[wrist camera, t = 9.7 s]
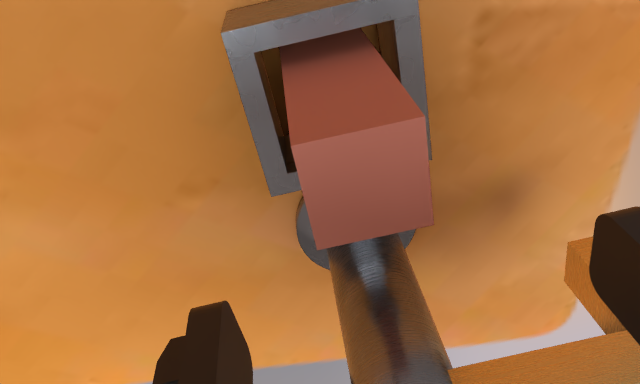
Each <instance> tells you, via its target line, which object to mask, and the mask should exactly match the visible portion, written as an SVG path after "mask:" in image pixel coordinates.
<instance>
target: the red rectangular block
mask: <svg viewBox="0 0 640 384" xmlns="http://www.w3.org/2000/svg"><path fill="white" fill-rule="evenodd" d="M279 50H280V59H281V67H282V76H283V84H284V93H285V101H286V110H287V118H288V127H289V135H290V144H291V149H292V153H293V157H294V161H295V165H296V169H297V173H298V177H299V181H300V185H301V189H302V192H303V196H304V200H305V204H306V208H307V212H308V216H309V220H310V224H311V228H312V232H313V236H314V240H315V244H316V248H317V250H321V249H326V248H330V247H335V246H340V245H344V244H349V243H353V242H358V241H362V240H367V239H372V238H376V237H381V236H385V235H390V234H394V233H399V232H404V231H408V230H413V229H417V228H422V227H426V226H431V225H434V220H433V207H432V195H431V183H430V170H429V158H428V146H427V133H426V121H425V115H424V114H423V113H422V111H421V110H420V109H419V107H418V106H417V104H416V103H415V102H414V100H413V99H412V98H411V96H410V95H409V94H408V92H407V91H406V90H405V88H404V87H403V85H402V84H401V83H400V81H399V80H398V79H397V77H396V76H395V75H394V73H393V72H392V71H391V69H390V68H389V66H388V65H387V64H386V62H385V61H384V60H383V58H382V57H381V56H380V54H379V53H378V52H377V50H376V49H375V47H374V46H373V45H372V43H371V42H370V41H369V39H368V38H367V37H366V35H365V34H364V33H363V31H362V30H361V28H356V29H352V30H348V31H343V32H339V33H335V34H331V35H326V36H322V37H318V38H314V39H309V40H305V41H301V42H297V43H293V44H288V45H284V46H280V47H279Z"/></svg>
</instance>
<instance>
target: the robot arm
mask: <svg viewBox="0 0 640 384" xmlns="http://www.w3.org/2000/svg"><path fill="white" fill-rule="evenodd" d="M589 274H590V279H591V282H592V285H593V287H594V289H595V291H596V292H597V294H598V296H599V297H600V298H601V299H602V301H603V302H604V303H605V304H606V305H607V307H608V308H609V309H610V310H611V311H612V313H613V314H614V315H615V316H616V317H617V319H618V320H619V321H620V322H621V324H622V325H623V326H624V327H625V328H626V330H627V331H628V332H629V333H630V334H631V336H632V337H633V338H634V339H635V341H636V342H637V343H638V344H639V345H640V207H632V208H628V209H623V210H619V211H615V212H610V213H606V214H602V215H600V216H598V217H597V219H596V222H595V228H594V235H593V242H592V250H591V257H590V264H589ZM153 384H253V369H252V361H251V356H250V352H249V348H248V345H247V343H246V341H245V338H244V336H243V334H242V332H241V329H240V327H239V325H238V323H237V320H236V318H235V316H234V314H233V311H232V309H231V307H230V305H229V303H228V302H227V301H222V302H218V303H213V304H209V305H205V306H200V307H196V308H192V309H191V310H190V313H189V317H188V323H187V330H186V336H181V337H177V338H173V339H171V340H170V341H169V343H168V345H167V346H166V348H165V350H164V351H163V353H162V354H161V356H160V358H159V359H158V361H157V365H156V369H155V374H154V379H153Z"/></svg>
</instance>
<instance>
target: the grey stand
mask: <svg viewBox="0 0 640 384" xmlns="http://www.w3.org/2000/svg"><path fill="white" fill-rule="evenodd" d="M373 24H377V29H378V36H379V44H380V51H381V57H382V58H383V60H384V61H385V62H386V64H387V65H388V66H389V68H390V69H391V71H392V72H393V73H394V75H395V76H396V77H397V79H398V80H399V81H400V83H401V84H402V85H403V87H404V88H405V90H406V91H407V92H408V94H409V95H410V96H411V98H412V99H413V100H414V102H415V103H416V104H417V106H418V107H419V109H420V110H421V111H422V113H423V114H424V115H425V121H426V133H427V146H428V158H429V160H432V152H431V141H430V130H429V118H428V107H427V96H426V85H425V73H424V62H423V51H422V40H421V28H420V17H419V6H418V0H272V1H268V2H264V3H260V4H255V5H251V6H247V7H243V8H239V9H234V10H230V11H227V13H226V16H225V20H224V23H223V27H222V30H221V36H222V39H223V42H224V45H225V49H226V52H227V55H228V58H229V61H230V65H231V68H232V71H233V74H234V78H235V81H236V84H237V87H238V90H239V94H240V97H241V100H242V103H243V107H244V110H245V113H246V116H247V120H248V123H249V126H250V129H251V132H252V136H253V139H254V142H255V145H256V149H257V152H258V155H259V158H260V162H261V165H262V168H263V171H264V174H265V178H266V181H267V184H268V187H269V191H270V194H271V197H273V196H277V195H282V194H286V193H290V192H295V191H299V190H302V189H301V185H300V181H299V177H298V173H297V169H296V165H295V161H294V157H293V153H292V149H291V144H290V135H287V136H284V135H283V131H282V128H281V124H280V120H279V117H278V113H277V109H276V105H275V102H274V98H273V94H272V91H271V87H270V83H269V80H268V76H267V72H266V69H265V65H264V61H263V57H262V54H261V51H263V50H267V49H271V48H276V47H280V46H284V45H288V44H293V43H297V42H301V41H305V40H309V39H314V38H318V37H322V36H326V35H331V34H335V33H339V32H343V31H348V30H352V29H356V28H360V27H365V26H369V25H373ZM296 229H297V236H298V240H299V243H300V246H301V248H302V249H303V251H304V252H305V254H306V255H307V256H308V257H309V258H310V259H311V260H312V261H313V262H315V263H316V264H318V265H320V266H322V267H323V268H326V269H329V270H330V271H331V276H332V282H333V287H334V293H335V298H336V304H337V309H338V314H339V320H340V325H341V331H342V336H343V341H344V347H345V352H346V358H347V363H348V369H349V374H350V379H351V384H640V345H639V344H638V343H637V342H636V341H635V339H634V338H633V337H632V336H631V334H630V333H629V332H628V331H627V330H626V328H625V327H624V326H623V325H622V324H621V322H620V321H619V320H618V319H617V317H616V316H615V315H614V314H613V313H612V311H611V310H610V309H609V308H608V307H607V305H606V304H605V303H604V302H603V301H602V299H601V298H600V297H599V296H598V294H597V292H596V291H595V289H594V287H593V285H592V282H591V279H590V274H589V264H590V257H591V250H592V242H593V237H589V238H585V239H580V240H576V241H571V242H568V246H567V257H566V267H565V278H564V281H565V283H566V284H567V285H568V286H569V288H570V289H571V290H572V292H573V293H574V294H575V295H576V297H577V298H578V299H579V300H580V302H581V303H582V304H583V305H584V307H585V308H586V309H587V311H588V312H589V313H590V315H591V316H592V317H593V318H594V320H595V321H596V322H597V324H598V325H599V326H600V327H601V328H602V330H603V331H604V332H605V334H606V335H602V336H598V337H593V338H589V339H584V340H580V341H575V342H571V343H566V344H562V345H557V346H553V347H548V348H543V349H539V350H534V351H530V352H525V353H521V354H517V355H512V356H507V357H503V358H499V359H494V360H489V361H485V362H480V363H476V364H471V365H467V366H462V367H458V368H452V366H451V363H450V360H449V358H448V356H447V353H446V351H445V348H444V346H443V343H442V341H441V338H440V336H439V333H438V331H437V328H436V326H435V323H434V321H433V318H432V316H431V313H430V311H429V308H428V306H427V303H426V301H425V299H424V296H423V294H422V291H421V289H420V286H419V284H418V281H417V279H416V276H415V274H414V271H413V269H412V266H411V264H410V261H409V259H408V256H407V254H406V252H405V248H406V247H407V246H408V244H409V243H410V241H411V239H412V238H413V235H414V233H415V230H416V229H413V230H408V231H404V232H399V233H394V234H390V235H385V236H381V237H376V238H372V239H367V240H362V241H358V242H353V243H349V244H344V245H340V246H335V247H330V248H326V249H321V250H317V248H316V244H315V240H314V236H313V232H312V228H311V224H310V220H309V216H308V212H307V208H306V204H305V200H304V196H303V198H302V199H301V202H300V204H299V206H298V210H297V214H296Z"/></svg>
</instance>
